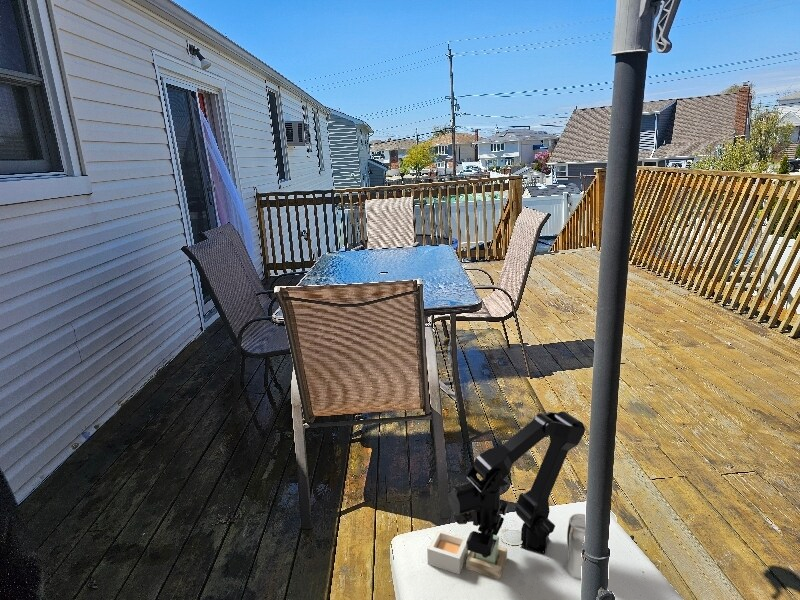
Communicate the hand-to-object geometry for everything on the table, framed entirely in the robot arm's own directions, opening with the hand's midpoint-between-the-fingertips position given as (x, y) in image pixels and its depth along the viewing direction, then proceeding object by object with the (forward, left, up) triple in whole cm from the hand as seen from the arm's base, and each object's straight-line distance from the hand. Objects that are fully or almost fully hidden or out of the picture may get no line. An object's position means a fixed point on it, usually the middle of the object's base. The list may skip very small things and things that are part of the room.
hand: (487, 550), depth 134 cm
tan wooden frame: (0, 0, -4) cm, 4 cm away
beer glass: (-22, -7, -4) cm, 24 cm away
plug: (0, 0, -4) cm, 4 cm away
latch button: (+10, +2, -2) cm, 10 cm away
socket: (+10, +3, -4) cm, 11 cm away
